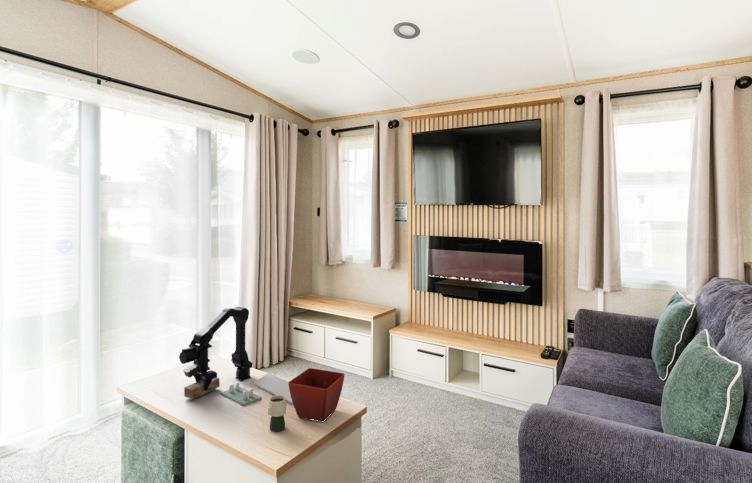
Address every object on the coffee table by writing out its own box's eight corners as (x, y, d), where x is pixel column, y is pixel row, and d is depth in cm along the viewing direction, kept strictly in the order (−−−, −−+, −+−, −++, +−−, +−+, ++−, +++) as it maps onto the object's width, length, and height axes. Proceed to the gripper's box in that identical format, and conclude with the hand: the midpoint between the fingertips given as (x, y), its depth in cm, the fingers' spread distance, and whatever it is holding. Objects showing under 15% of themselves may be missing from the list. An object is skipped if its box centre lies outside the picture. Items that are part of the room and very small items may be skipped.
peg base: (238, 388, 208) (238, 378, 208) (261, 399, 196) (261, 389, 196) (221, 394, 201) (220, 384, 200) (243, 406, 188) (243, 395, 188)
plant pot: (326, 428, 169) (326, 389, 168) (287, 420, 175) (287, 382, 175) (345, 408, 187) (345, 373, 186) (309, 402, 193) (309, 367, 192)
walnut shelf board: (211, 384, 209) (211, 376, 209) (219, 386, 206) (219, 378, 206) (184, 396, 195) (184, 387, 194) (193, 398, 192) (192, 389, 192)
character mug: (279, 421, 174) (279, 392, 174) (292, 425, 171) (292, 395, 170) (261, 432, 165) (261, 401, 164) (274, 437, 161) (274, 405, 161)
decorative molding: (294, 411, 190) (310, 399, 197) (291, 402, 189) (308, 390, 196) (255, 390, 213) (271, 380, 220) (253, 382, 212) (268, 372, 219)
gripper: (176, 357, 199) (177, 388, 200) (195, 366, 187) (195, 399, 188) (198, 352, 208) (199, 381, 209) (217, 360, 196) (217, 391, 197)
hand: (202, 388), depth 200 cm, fingers closed on walnut shelf board, 6 cm apart
